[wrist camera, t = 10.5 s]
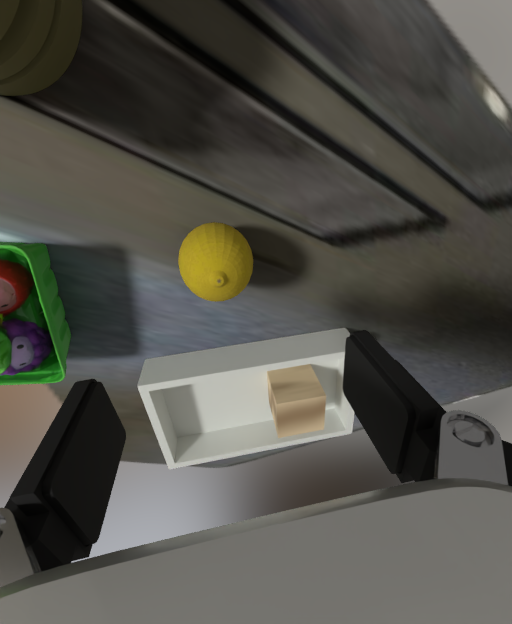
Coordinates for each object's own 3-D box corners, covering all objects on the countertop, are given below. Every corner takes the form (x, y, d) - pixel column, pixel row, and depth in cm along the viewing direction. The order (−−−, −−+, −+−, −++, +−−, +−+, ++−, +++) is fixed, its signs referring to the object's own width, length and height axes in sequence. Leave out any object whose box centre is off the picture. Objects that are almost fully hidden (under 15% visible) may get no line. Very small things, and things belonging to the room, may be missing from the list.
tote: (345, 327, 31) (362, 348, 28) (338, 407, 38) (351, 433, 34) (145, 359, 29) (137, 386, 26) (172, 438, 35) (169, 469, 32)
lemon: (238, 281, 27) (249, 324, 20) (178, 270, 25) (168, 312, 19) (252, 222, 25) (271, 248, 18) (187, 206, 23) (179, 228, 16)
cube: (309, 395, 35) (324, 429, 30) (268, 402, 34) (278, 438, 30) (310, 363, 32) (326, 395, 28) (266, 370, 32) (276, 404, 27)
